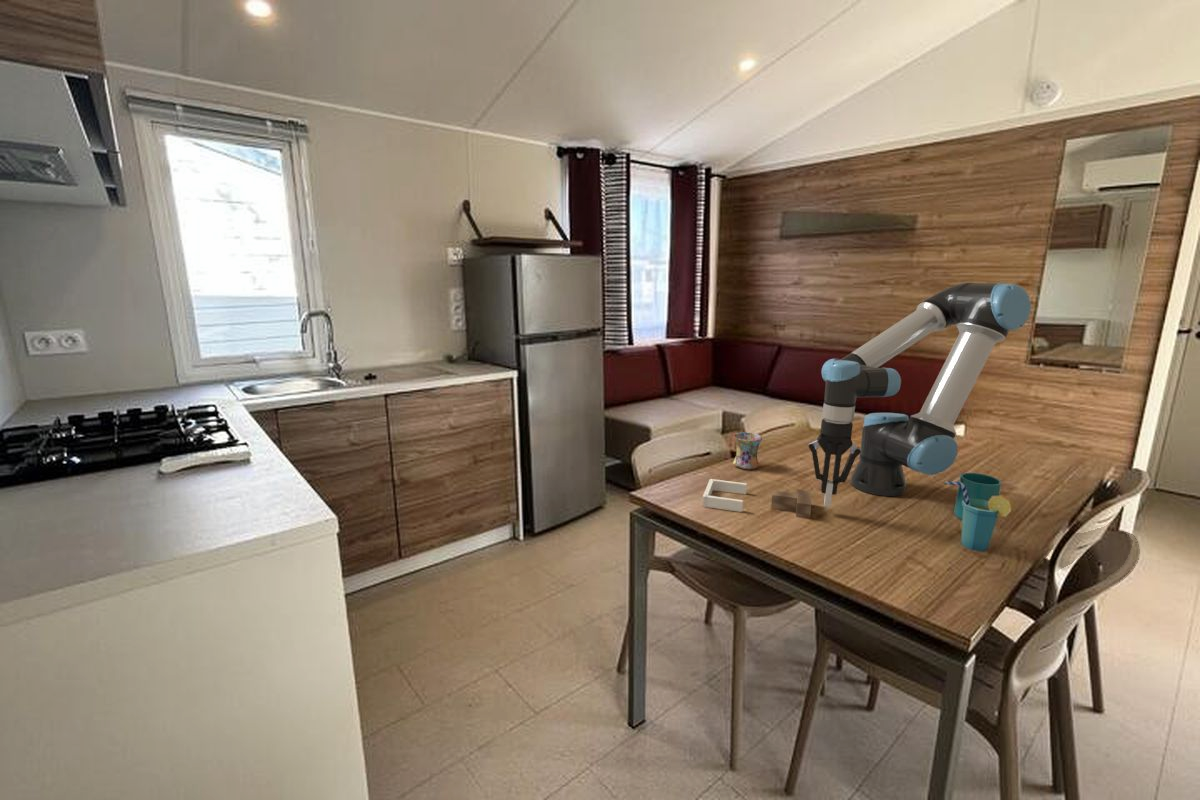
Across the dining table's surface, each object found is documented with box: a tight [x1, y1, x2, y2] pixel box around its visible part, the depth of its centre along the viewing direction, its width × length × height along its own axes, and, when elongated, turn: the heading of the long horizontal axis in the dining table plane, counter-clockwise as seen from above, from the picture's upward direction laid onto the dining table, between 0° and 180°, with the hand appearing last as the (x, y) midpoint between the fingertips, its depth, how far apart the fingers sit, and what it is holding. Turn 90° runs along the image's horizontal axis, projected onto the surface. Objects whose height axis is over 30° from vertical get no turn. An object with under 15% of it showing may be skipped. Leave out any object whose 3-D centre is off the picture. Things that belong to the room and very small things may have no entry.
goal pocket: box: [701, 478, 748, 513], centre depth 156 cm, size 11×14×3 cm
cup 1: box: [953, 472, 1002, 520], centre depth 145 cm, size 9×12×11 cm
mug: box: [732, 431, 763, 470], centre depth 184 cm, size 12×9×11 cm
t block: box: [770, 489, 812, 520], centre depth 150 cm, size 10×10×4 cm
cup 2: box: [944, 480, 1014, 552], centre depth 129 cm, size 14×8×15 cm, turn 46°
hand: (827, 504), depth 147 cm, fingers closed
